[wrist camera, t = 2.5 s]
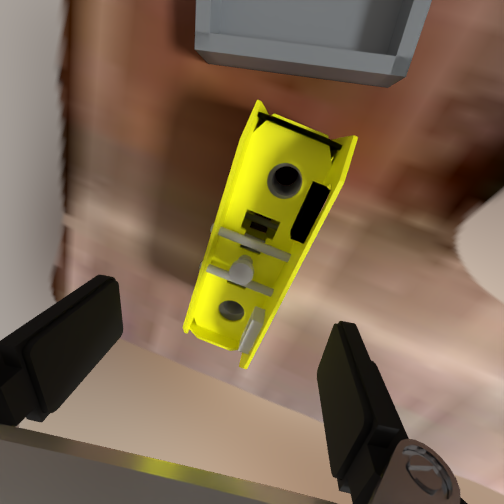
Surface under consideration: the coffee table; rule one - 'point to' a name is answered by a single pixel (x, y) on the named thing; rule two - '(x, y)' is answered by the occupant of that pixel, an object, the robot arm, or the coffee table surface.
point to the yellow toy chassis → (278, 233)
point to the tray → (313, 37)
